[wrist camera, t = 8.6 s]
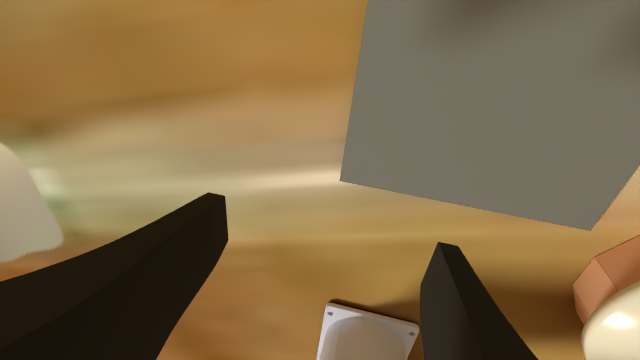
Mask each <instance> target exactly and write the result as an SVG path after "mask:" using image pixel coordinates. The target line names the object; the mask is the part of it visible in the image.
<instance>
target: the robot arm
mask: <svg viewBox="0 0 640 360" xmlns="http://www.w3.org/2000/svg"><path fill="white" fill-rule="evenodd" d="M227 242H228V228H227V215H226V202H225V196H223V195H218V194H213V193H207V194H205V195H202V196H201V197H199V198H197V199H195V200H193V201H191V202H189V203H188V204H186V205H184V206H182V207H180V208H178V209H177V210H175V211H173V212H171V213H169V214H167V215H165V216H164V217H162V218H160V219H158V220H156V221H154V222H152V223H150V224H148V225H146V226H144V227H142V228H140V229H138V230H136V231H134V232H132V233H130V234H128V235H126V236H124V237H122V238H120V239H117V240H115V241H113V242H111V243H108V244H106V245H104V246H101V247H99V248H97V249H94V250H92V251H89V252H87V253H84V254H82V255H79V256H77V257H74V258H71V259H68V260H66V261H63V262H60V263H57V264H54V265H51V266H48V267H45V268H42V269H40V270H37V271H34V272H31V273H28V274H24V275H21V276H18V277H14V278H11V279H8V280H4V281H1V282H0V360H156V359H157V357H158V355H159V353H160V351H161V350H162V348H163V346H164V344H165V342H166V340H167V339H168V337H169V335H170V333H171V332H172V330H173V328H174V327H175V325H176V324H177V322H178V320H179V319H180V318H181V316H182V315H183V313H184V312H185V310H186V309H187V307H188V306H189V304H190V303H191V301H192V300H193V298H194V297H195V295H196V294H197V293H198V291H199V290H200V288H201V287H202V285H203V284H204V282H205V281H206V279H207V278H208V276H209V275H210V273H211V272H212V270H213V269H214V267H215V266H216V264H217V262H218V260H219V258H220V256H221V254H222V252H223V250H224V248H225V246H226V244H227ZM420 319H421V330H422V340H423V349H424V359H425V360H538V359H537V358H536V356H535V355H534V354H533V353H532V351H531V350H530V349H529V348H528V347H527V345H526V344H525V343H524V342H523V340H522V339H521V338H520V336H519V335H518V334H517V332H516V331H515V330H514V328H513V327H512V326H511V324H510V323H509V322H508V321H507V319H506V318H505V316H504V315H503V314H502V312H501V311H500V309H499V308H498V306H497V305H496V304H495V302H494V301H493V299H492V298H491V296H490V295H489V293H488V292H487V290H486V289H485V287H484V286H483V284H482V283H481V281H480V280H479V278H478V277H477V275H476V273H475V272H474V270H473V269H472V267H471V266H470V264H469V262H468V261H467V259H466V258H465V256H464V255H463V253H462V251H461V250H460V248H459V247H458V246H455V245H450V244H446V243H441V242H438V244H437V246H436V249H435V251H434V253H433V256H432V258H431V261H430V263H429V266H428V268H427V271H426V273H425V275H424V278H423V280H422V283H421V292H420ZM418 334H419V326H418V325H417V324H415V323H411V322H407V321H403V320H399V319H395V318H391V317H387V316H383V315H379V314H375V313H371V312H367V311H363V310H359V309H355V308H350V307H346V306H342V305H338V304H334V303H328V304H327V305H326V308H325V313H324V319H323V325H322V331H321V336H320V342H319V348H318V354H317V360H407V358H408V355H409V353H410V351H411V349H412V347H413V345H414V342H415V340H416V338H417V336H418Z"/></svg>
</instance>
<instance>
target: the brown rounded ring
mask: <svg viewBox="0 0 640 360" xmlns="http://www.w3.org/2000/svg"><path fill="white" fill-rule="evenodd" d="M639 281H640V236H637V237H635V238H633V239H631V240H629V241H627V242H625V243H623V244H621V245H619V246H617V247H615V248H613V249H611V250H609V251H607V252H604V253H602V254H600V255H598V256H596V257H594V259H593V260H592V261H591V262H590V264H589V265H588V266H587V267H586V269H585V270H584V271H583V272H582V274H581V275H580V276H579V277H578V279H577V280H576V281H575V282H574V284H573V291H574V300H575V309H576V312H577V314H578V315H579V317H580V319H581V321H582V323H583V325H585V323H586V322H587V320H588V318H589V317H590V315H591V314H592V313H593V312H594V311H595V310H596V309H597V308H598V307H599V306H600V305H601V304H602V303H604V302H605V301H606V300H607V299H609V298H610V297H612V296H613V295H615V294H616V293H618V292H619V291H621V290H623V289H625V288H627V287H628V286H630V285H632V284H634V283H636V282H639Z"/></svg>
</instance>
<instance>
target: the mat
mask: <svg viewBox="0 0 640 360" xmlns="http://www.w3.org/2000/svg"><path fill="white" fill-rule="evenodd" d="M639 165H640V0H368V4H367V11H366V17H365V23H364V30H363V36H362V43H361V49H360V55H359V62H358V68H357V74H356V81H355V87H354V93H353V100H352V106H351V112H350V119H349V125H348V131H347V138H346V144H345V150H344V157H343V163H342V169H341V176H340V181H343V182H348V183H353V184H358V185H363V186H368V187H373V188H378V189H383V190H388V191H393V192H398V193H403V194H408V195H413V196H418V197H423V198H428V199H433V200H438V201H443V202H448V203H453V204H458V205H463V206H468V207H473V208H478V209H483V210H488V211H493V212H498V213H503V214H508V215H513V216H518V217H523V218H528V219H533V220H538V221H543V222H548V223H553V224H558V225H564V226H569V227H574V228H579V229H584V230H589V231H591V230H592V228H593V227H594V225H595V224H596V223H597V221H598V220H599V219H600V217H601V216H602V215H603V213H604V212H605V211H606V209H607V208H608V207H609V205H610V204H611V203H612V201H613V200H614V198H615V197H616V196H617V194H618V193H619V192H620V190H621V189H622V188H623V186H624V185H625V184H626V182H627V181H628V180H629V178H630V177H631V176H632V174H633V173H634V172H635V170H636V169H637V167H638V166H639Z"/></svg>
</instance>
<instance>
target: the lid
mask: <svg viewBox="0 0 640 360" xmlns="http://www.w3.org/2000/svg"><path fill="white" fill-rule="evenodd" d="M580 343H581V350H582V352H583V355H584V357H585V359H586V360H640V281H639V282H636V283H634V284H632V285H630V286H628V287H627V288H625V289H623V290H621V291H619V292H618V293H616V294H615V295H613V296H612V297H610V298H609V299H607V300H606V301H605V302H604V303H602V304H601V305H600V306H599V307H598V308H597V309H596V310H595V311H594V312H593V313H592V314H591V315H590V317H589V318H588V320H587V322H586V323H585V325H584V327H583V330H582V333H581V340H580Z"/></svg>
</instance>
